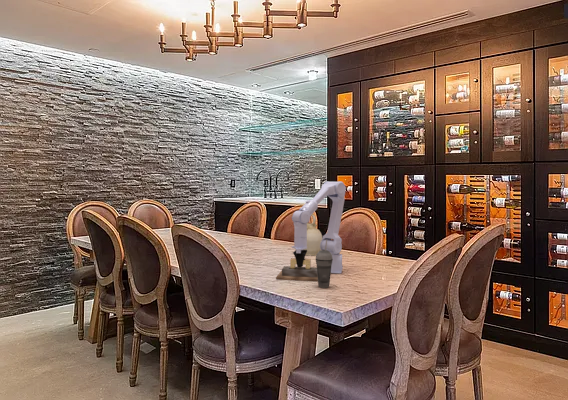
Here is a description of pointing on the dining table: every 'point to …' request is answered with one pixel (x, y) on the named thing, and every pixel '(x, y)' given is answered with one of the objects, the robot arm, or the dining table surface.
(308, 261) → the pine wood offcut
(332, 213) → the robot arm
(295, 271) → the rail board
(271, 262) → the dining table surface
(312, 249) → the jug
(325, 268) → the beverage cup
